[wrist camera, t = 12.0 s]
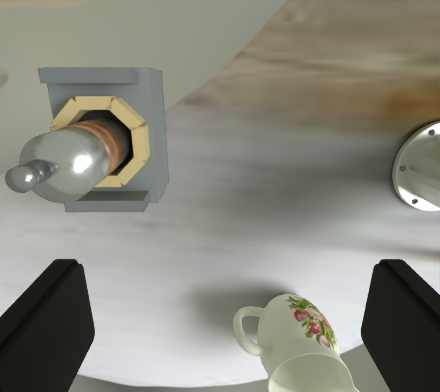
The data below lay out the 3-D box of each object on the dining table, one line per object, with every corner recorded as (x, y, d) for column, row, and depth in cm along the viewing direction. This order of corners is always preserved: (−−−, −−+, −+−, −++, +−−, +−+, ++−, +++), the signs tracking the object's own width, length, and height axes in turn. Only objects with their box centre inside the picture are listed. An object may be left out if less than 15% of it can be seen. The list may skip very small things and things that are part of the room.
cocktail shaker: (129, 115, 30) (71, 138, 18) (135, 164, 32) (86, 216, 20) (79, 116, 30) (-16, 140, 18) (87, 165, 32) (7, 218, 20)
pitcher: (246, 262, 46) (258, 331, 33) (344, 301, 49) (390, 378, 36) (216, 315, 50) (217, 396, 37) (310, 347, 52) (341, 433, 40)
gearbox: (162, 71, 36) (141, 65, 26) (168, 181, 41) (153, 213, 31) (79, 71, 36) (25, 65, 26) (95, 181, 41) (56, 214, 31)
